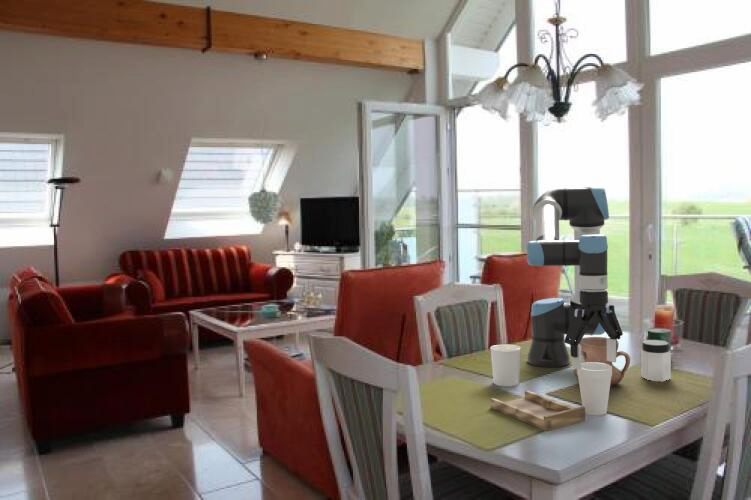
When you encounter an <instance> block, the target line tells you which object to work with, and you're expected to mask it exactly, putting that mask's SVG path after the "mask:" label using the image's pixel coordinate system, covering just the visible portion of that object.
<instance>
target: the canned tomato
mask: <svg viewBox="0 0 751 500" xmlns="http://www.w3.org/2000/svg"><path fill="white" fill-rule="evenodd" d="M646 331H647V340H661V341H666V342H668V343H669V351H671V350H672V330H671V329H669V328H664V327H663V328H662V327H651V328H648V329H647V330H646ZM671 352H672V351H671Z"/></svg>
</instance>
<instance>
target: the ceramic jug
mask: <svg viewBox="0 0 751 500" xmlns="http://www.w3.org/2000/svg"><path fill="white" fill-rule="evenodd" d="M607 338H608V337H606V336H603V337H602V336H589V337H587V336H586V337H583V338H582V340H581V341H580V343H579V345H580V346H581V357H582V358H583V360H584V363H585V362H598V363H605V364H609V365H610V366H612V377H611V382H610V387H612V386H615V385H617V384H619V383H620V382H621V381H622V380H623V378H624V376H625V373H626V372H627V370H628V369H629V367H630V365H631V357H630V355H629V354H628V352H626V351H623V350H620V351H618V350H619V344H620V342H619V341H618V340H617V350H616V358H618V357H620V356H623V357H624V358H625V359H624V360H625V363H624V366H623V367H622V369H621V370H620V369H619V368H618V367H616V366H615V365H614V364H613V362H610V361H607ZM572 374H573V375H574V377H575V379H576V380H577V381H579V379H578V375H577V369H576V368H574V370H572Z"/></svg>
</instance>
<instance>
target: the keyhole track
mask: <svg viewBox="0 0 751 500" xmlns="http://www.w3.org/2000/svg"><path fill="white" fill-rule="evenodd" d="M490 409H493V410H494V411H497V412H500V413H502V414H504V415H507V416H509V417H511V418H514V419H516V420H519V421H521V422H524V423H526V424H528V425H530V426H533V427H536V428H537V429H540V430H543V431H545V432H548V431H552V430H557V429H559V428H563V427H567V426H572V425H575V424H579V423H582V422H586V413H585V407H583V406H578V407H575V406H573V405H571V404H567V403H564V402H561V401H558V400H555V399H554V398H553V399H552V398H550V397H548V396H545V395H543V394H538V393H536V392H533V391H530V390H528V389H527V390H524V397H522V398H521V397H520V398H516V399H512V400H508V401H502V400H499V399H497V398H494V397H491V398H490Z"/></svg>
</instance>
